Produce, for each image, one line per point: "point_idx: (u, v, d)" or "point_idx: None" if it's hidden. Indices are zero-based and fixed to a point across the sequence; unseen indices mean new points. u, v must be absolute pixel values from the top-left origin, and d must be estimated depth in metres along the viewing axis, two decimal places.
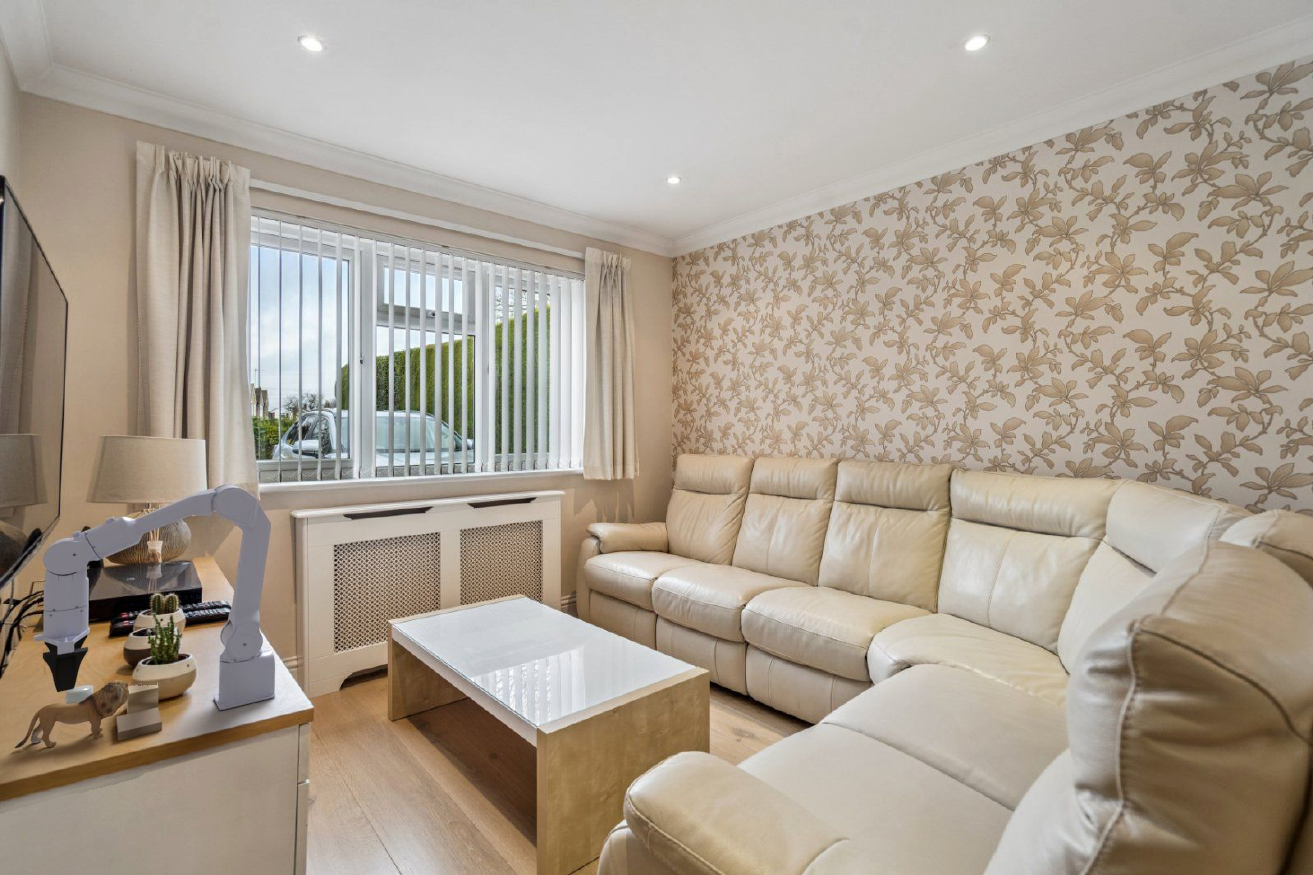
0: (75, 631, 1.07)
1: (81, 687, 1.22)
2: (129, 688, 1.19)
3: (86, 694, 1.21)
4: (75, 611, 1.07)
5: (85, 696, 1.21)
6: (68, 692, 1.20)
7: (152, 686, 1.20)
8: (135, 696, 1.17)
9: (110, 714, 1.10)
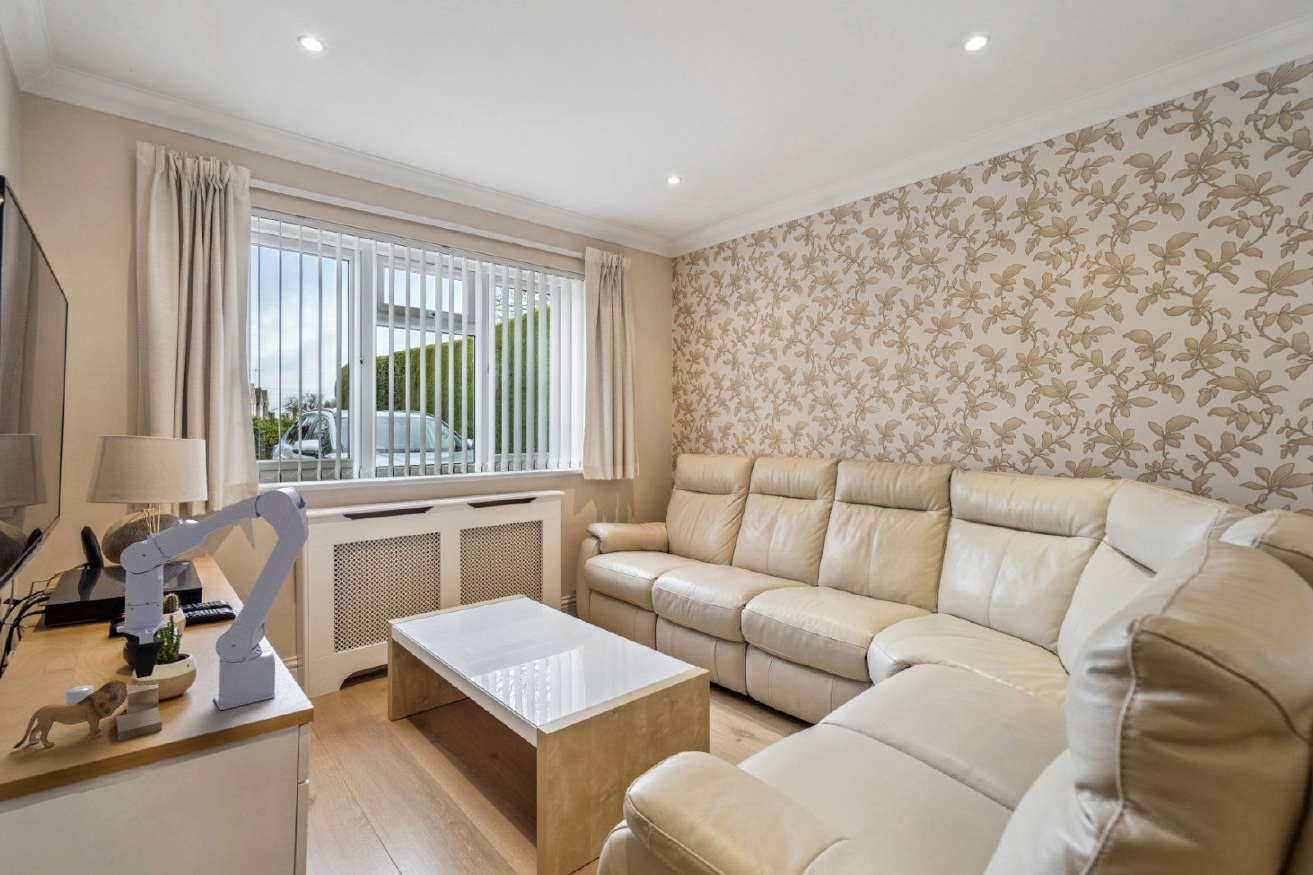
0: (152, 624, 1.19)
1: (81, 687, 1.22)
2: (129, 688, 1.19)
3: (86, 694, 1.21)
4: (152, 605, 1.18)
5: (85, 696, 1.21)
6: (68, 692, 1.20)
7: (152, 686, 1.20)
8: (135, 696, 1.17)
9: (108, 714, 1.10)
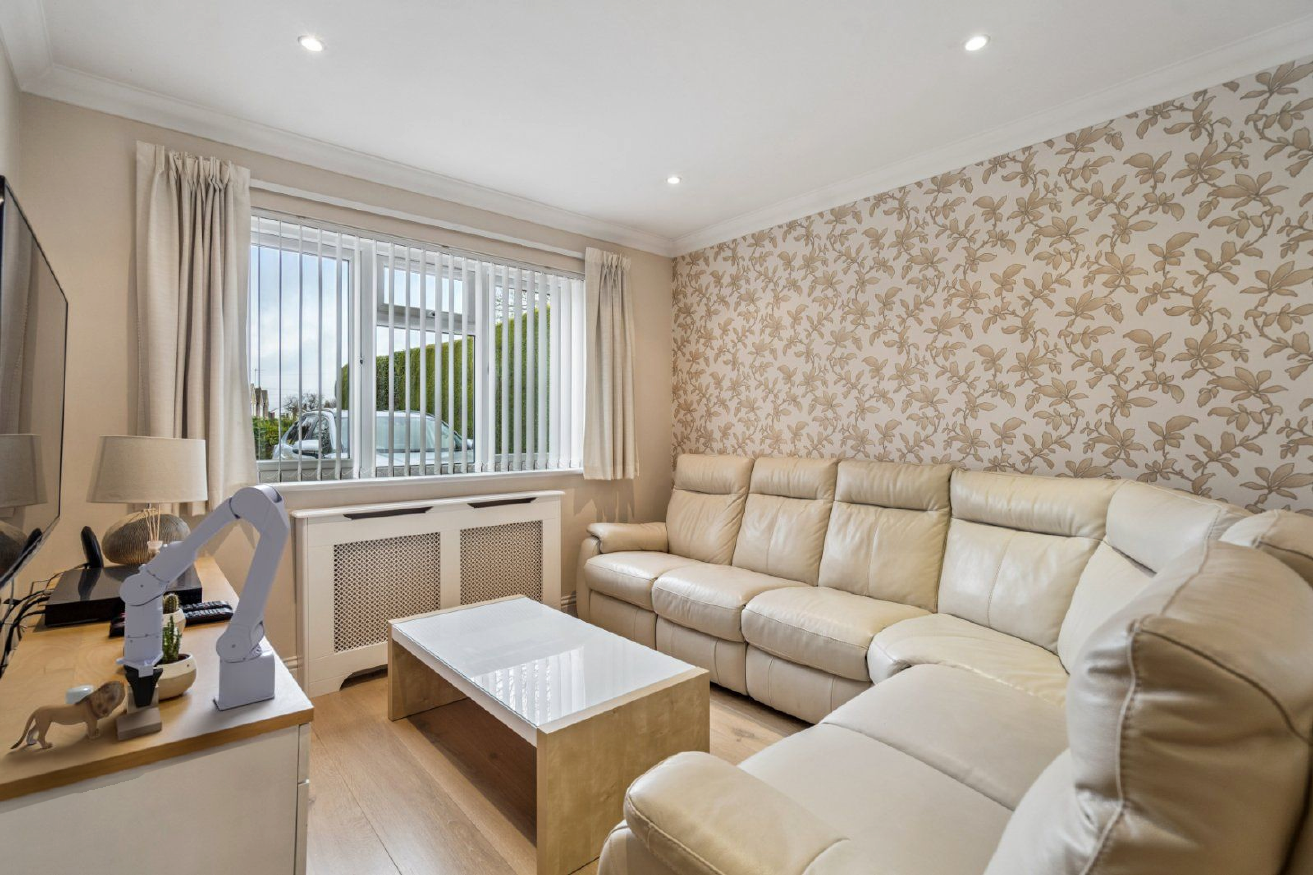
0: (152, 655, 1.19)
1: (81, 687, 1.22)
2: (129, 687, 1.19)
3: (86, 694, 1.21)
4: (152, 637, 1.18)
5: None
6: (68, 692, 1.20)
7: None
8: None
9: (106, 715, 1.09)
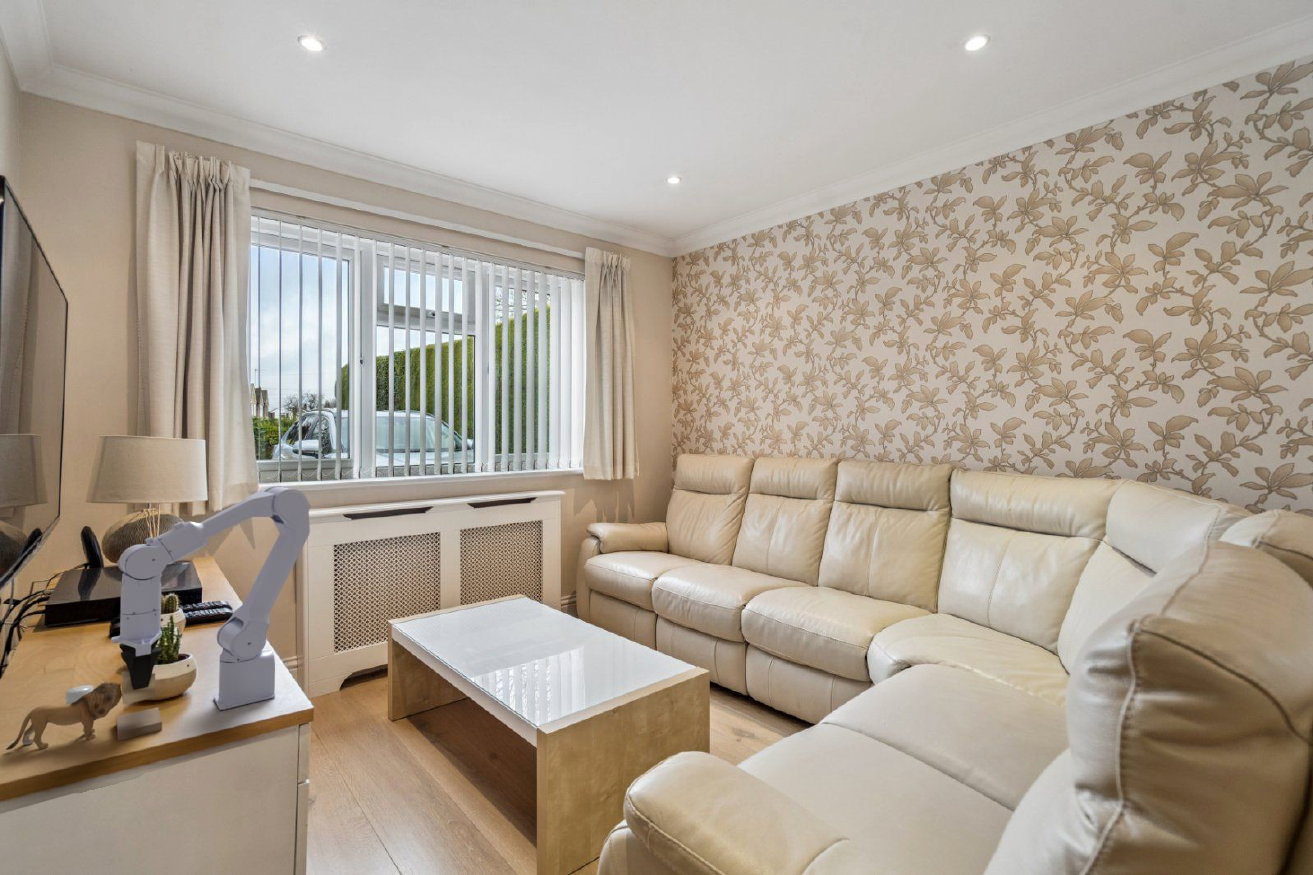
0: (150, 634, 1.11)
1: (81, 687, 1.22)
2: (124, 674, 1.11)
3: None
4: (150, 614, 1.11)
5: None
6: (68, 692, 1.20)
7: None
8: (130, 682, 1.10)
9: (103, 715, 1.09)
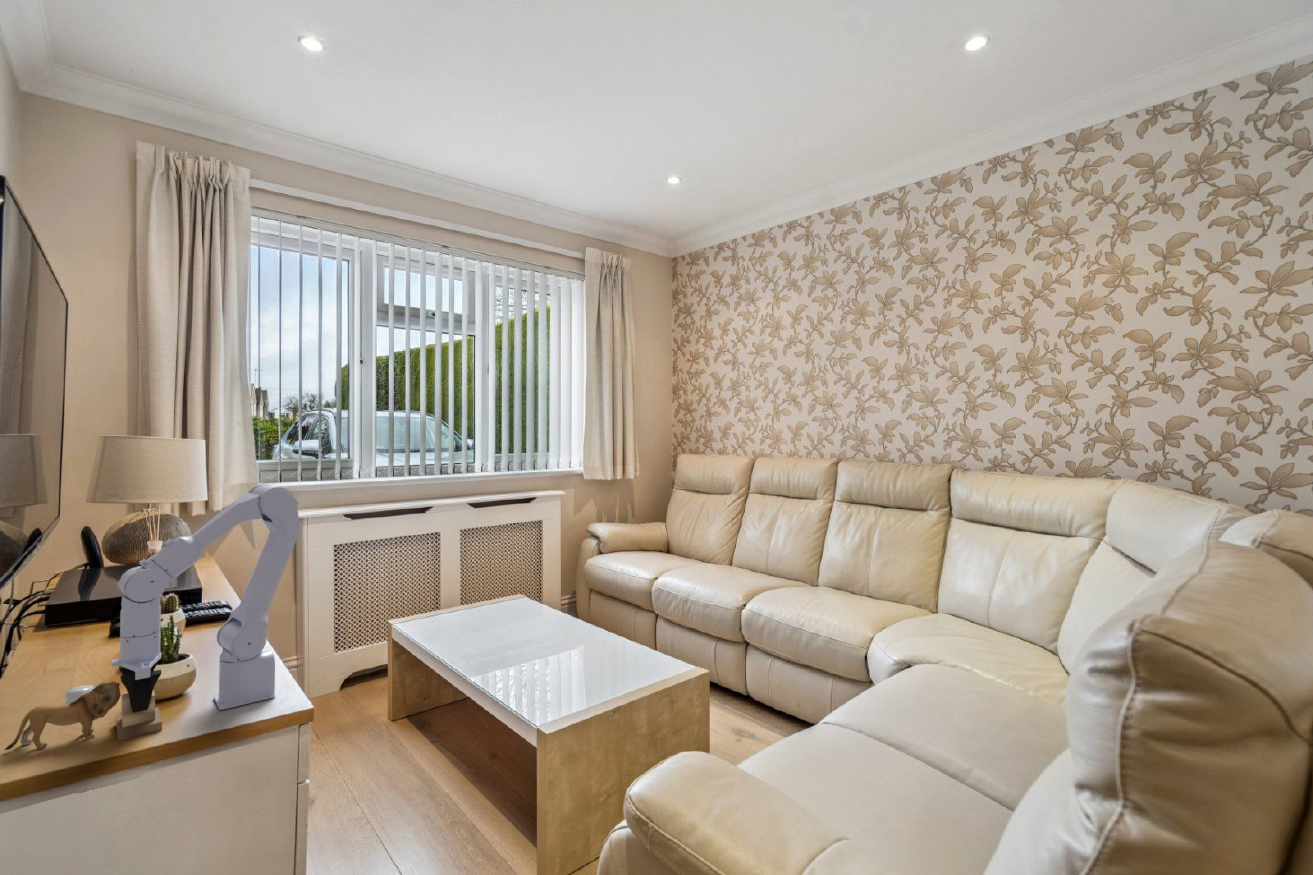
0: (149, 656, 1.11)
1: (81, 687, 1.22)
2: (124, 696, 1.12)
3: None
4: (149, 637, 1.11)
5: None
6: (68, 692, 1.20)
7: None
8: (129, 705, 1.10)
9: (101, 715, 1.09)
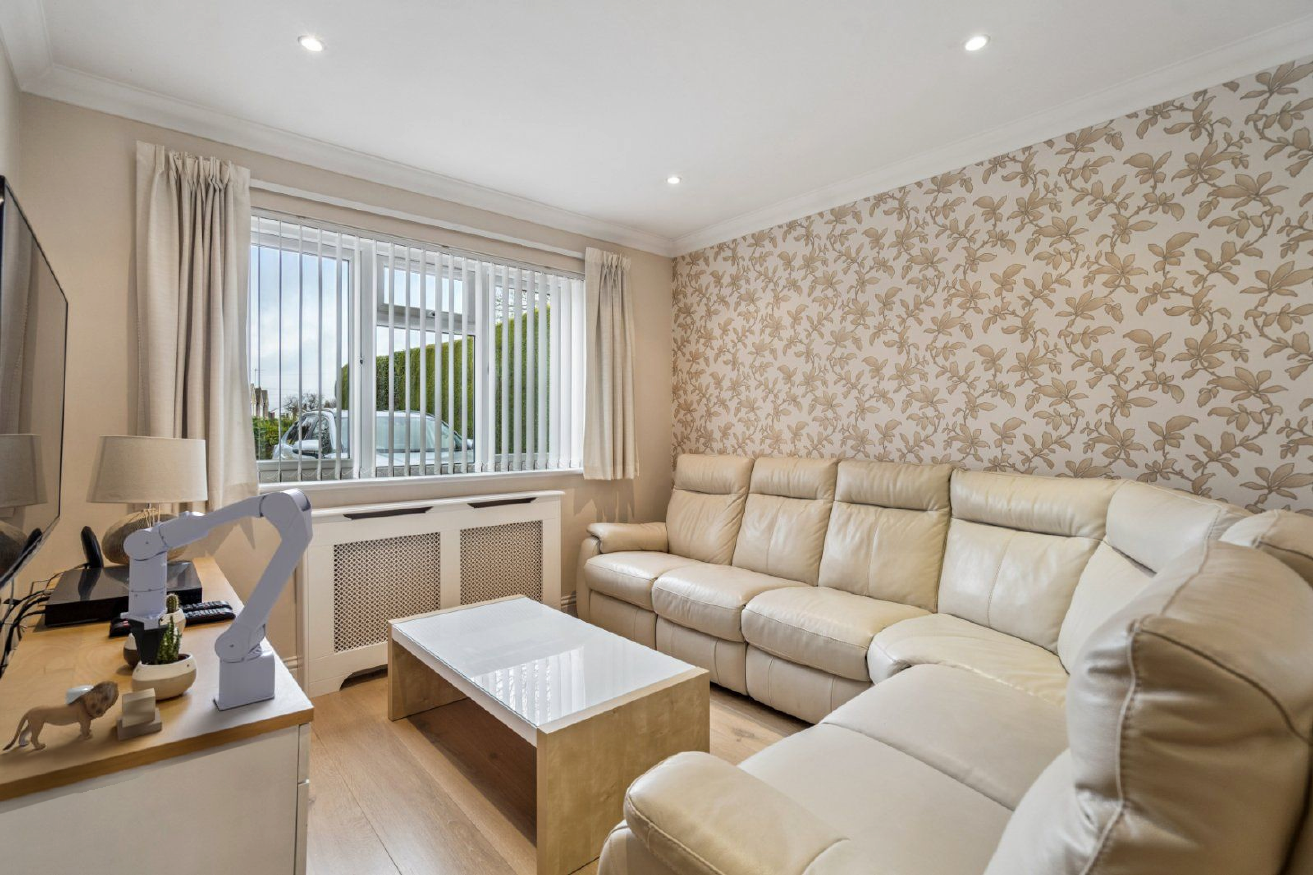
0: (157, 610, 1.20)
1: (81, 687, 1.22)
2: (124, 696, 1.12)
3: None
4: (157, 592, 1.20)
5: None
6: (68, 692, 1.20)
7: (149, 694, 1.13)
8: (130, 705, 1.10)
9: (100, 715, 1.09)
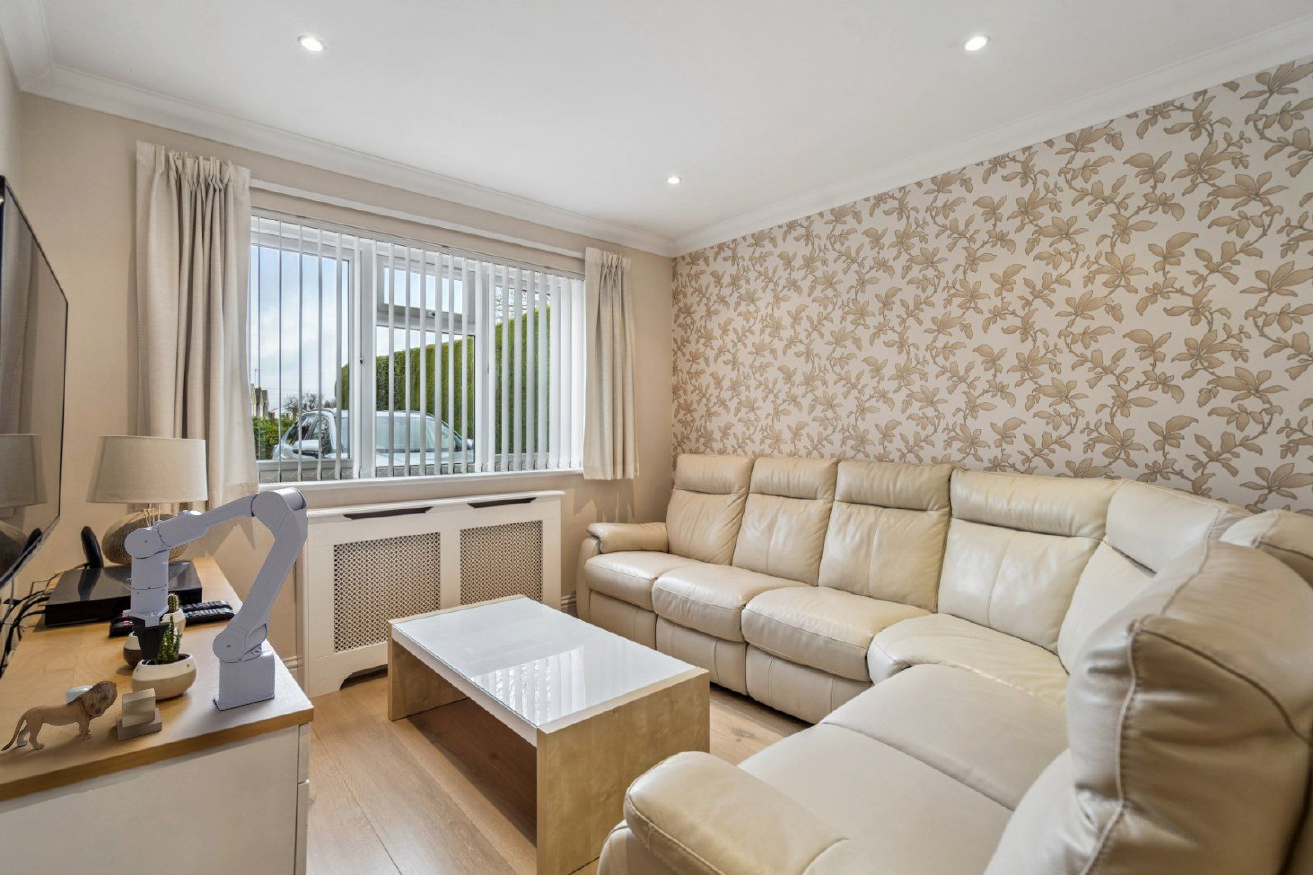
0: (158, 607, 1.21)
1: (81, 687, 1.22)
2: (124, 696, 1.12)
3: None
4: (158, 590, 1.21)
5: None
6: (68, 692, 1.20)
7: (149, 694, 1.13)
8: (130, 705, 1.10)
9: (99, 715, 1.09)
